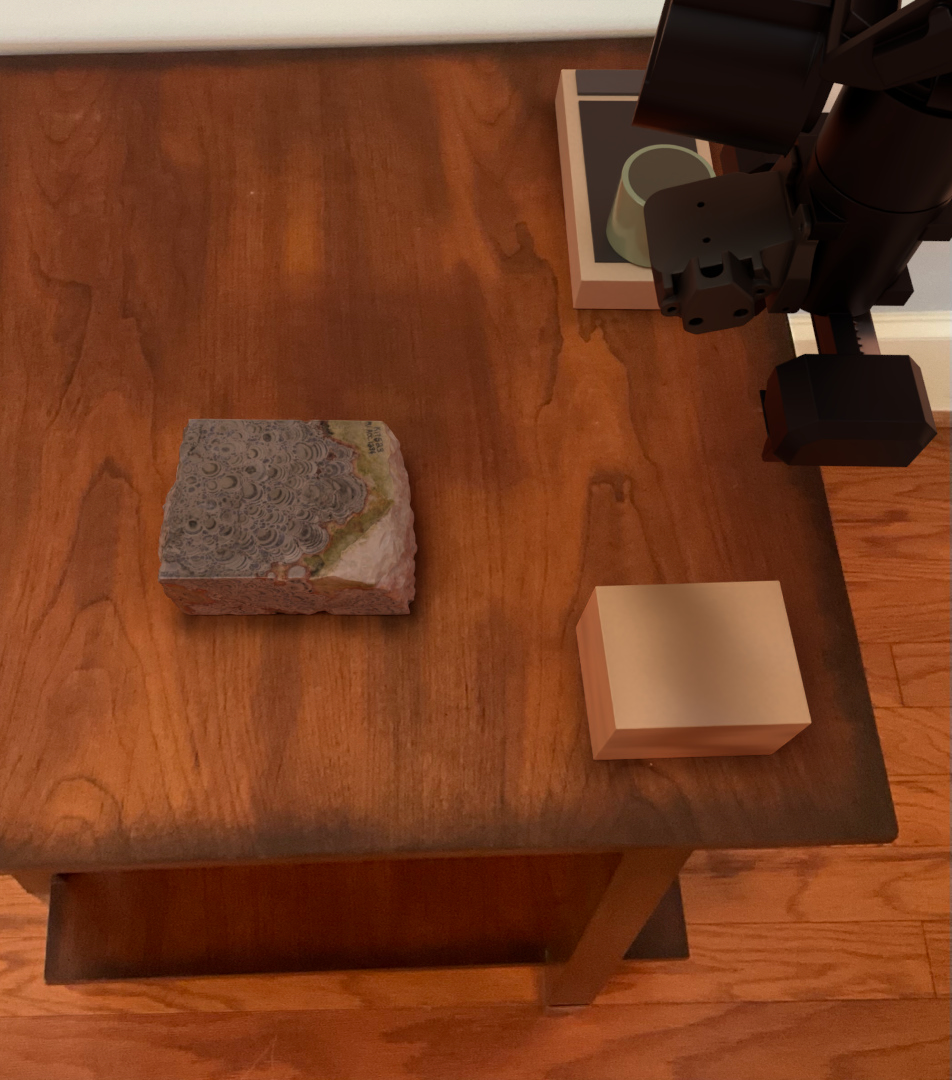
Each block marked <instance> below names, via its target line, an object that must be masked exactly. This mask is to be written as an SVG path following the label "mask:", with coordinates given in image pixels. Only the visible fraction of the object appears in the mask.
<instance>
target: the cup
mask: <svg viewBox="0 0 952 1080" xmlns="http://www.w3.org/2000/svg"><path fill="white" fill-rule="evenodd" d="M716 176H717V175H716V172H715V170H714V167H713V168H712V167H711V165H710V164H709V163H708V162H707V161H706V160H705V159H704V158H703V157H702V156H700V155H699V154H697V153H695V152H693V151H692V150H689V149H687V148H684V147H680V146H676V145H668V144H660V145H652V146H648V147H645V148H643V149H640V150H638V151H637V152H635V153H634V154H632V155H631V156H630V157H629V158H628V159H627V161H626V162H625V164H624V166H623V169H622V173H621V176H620V179H619V183H618V186H617V190H616V193H615V197H614V200H613V203H612V207H611V210H610V214H609V217H608V221H607V225H606V235H607V238H608V241H609V243H610V245H611V246H612V248H613V249H614V250H615V251H616V252H617V253H618V254H619V255H620V256H621V257H623V258H624V259H626V260H628V261H629V262H632V263H634V264H637V265H640V266H644V267H651V264H650V257H649V250H648V242H647V235H646V227H645V219H644V204H645V202H646V200H647V199H648V198H649V197H650V196H651V195H652V194H654V193H655V192H657V191H659V190H662V189H666V188H670V187H674V186H678V185H682V184H687V183H691V182H695V181H699V180H704V179H708V178H712V177H716Z"/></svg>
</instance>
